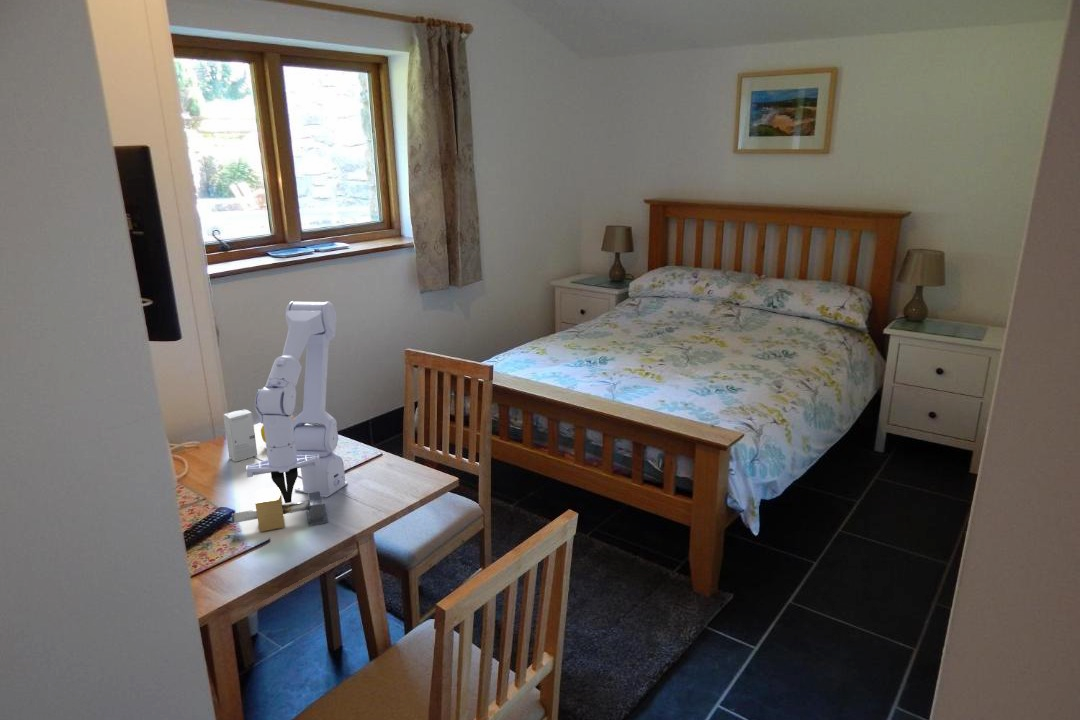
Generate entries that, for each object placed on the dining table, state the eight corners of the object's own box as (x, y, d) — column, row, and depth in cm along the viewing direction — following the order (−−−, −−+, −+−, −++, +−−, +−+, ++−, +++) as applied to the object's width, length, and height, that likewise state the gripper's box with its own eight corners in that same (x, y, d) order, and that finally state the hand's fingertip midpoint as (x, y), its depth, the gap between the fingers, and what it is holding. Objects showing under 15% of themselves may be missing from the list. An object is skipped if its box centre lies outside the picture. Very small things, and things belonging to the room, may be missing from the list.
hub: (283, 513, 156) (280, 486, 154) (284, 527, 150) (281, 498, 148) (259, 518, 154) (255, 490, 152) (259, 531, 149) (255, 503, 147)
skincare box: (235, 462, 182) (228, 418, 178) (228, 457, 185) (221, 414, 181) (258, 455, 186) (252, 412, 182) (251, 450, 189) (245, 407, 186)
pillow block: (325, 505, 160) (323, 488, 158) (328, 522, 152) (326, 504, 151) (306, 509, 158) (304, 491, 157) (308, 526, 151) (306, 508, 150)
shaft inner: (321, 504, 156) (321, 496, 156) (322, 508, 154) (321, 500, 154) (277, 512, 153) (276, 504, 152) (277, 516, 151) (276, 508, 151)
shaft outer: (278, 512, 153) (276, 504, 152) (278, 516, 151) (277, 508, 151) (232, 520, 150) (231, 511, 149) (232, 525, 148) (231, 516, 148)
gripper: (242, 455, 142) (251, 516, 146) (318, 444, 147) (324, 502, 151) (243, 442, 148) (251, 500, 152) (315, 431, 153) (321, 488, 157)
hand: (288, 500), depth 152 cm, fingers closed
